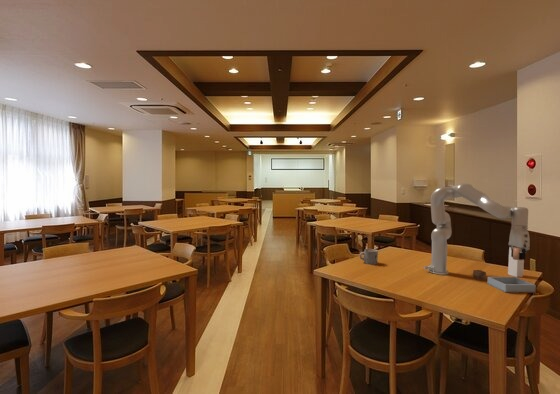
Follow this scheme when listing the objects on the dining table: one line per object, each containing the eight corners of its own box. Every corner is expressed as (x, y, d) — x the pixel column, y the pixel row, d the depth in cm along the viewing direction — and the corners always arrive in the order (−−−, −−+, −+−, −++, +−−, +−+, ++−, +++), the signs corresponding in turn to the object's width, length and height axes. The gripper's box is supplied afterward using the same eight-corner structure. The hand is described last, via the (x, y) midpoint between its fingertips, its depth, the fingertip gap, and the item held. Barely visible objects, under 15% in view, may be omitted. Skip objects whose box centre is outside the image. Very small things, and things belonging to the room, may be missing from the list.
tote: (505, 292, 172) (505, 284, 172) (487, 283, 187) (487, 276, 187) (535, 292, 173) (535, 285, 172) (515, 284, 187) (515, 277, 187)
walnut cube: (478, 279, 195) (478, 272, 195) (473, 277, 200) (473, 270, 200) (485, 279, 195) (486, 272, 195) (480, 277, 200) (480, 270, 200)
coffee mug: (377, 261, 236) (377, 249, 235) (377, 265, 227) (377, 252, 226) (359, 260, 240) (360, 248, 240) (359, 263, 231) (359, 250, 230)
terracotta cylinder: (525, 260, 176) (526, 248, 176) (517, 260, 176) (517, 248, 176) (518, 258, 181) (519, 246, 181) (510, 258, 181) (511, 246, 181)
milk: (516, 277, 201) (518, 244, 200) (507, 274, 207) (509, 242, 206) (523, 276, 203) (525, 244, 202) (514, 273, 209) (515, 242, 208)
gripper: (538, 230, 170) (536, 261, 170) (514, 225, 187) (512, 254, 187) (525, 230, 169) (523, 261, 170) (502, 225, 186) (501, 254, 187)
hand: (518, 257), depth 179 cm, fingers closed on terracotta cylinder, 5 cm apart
